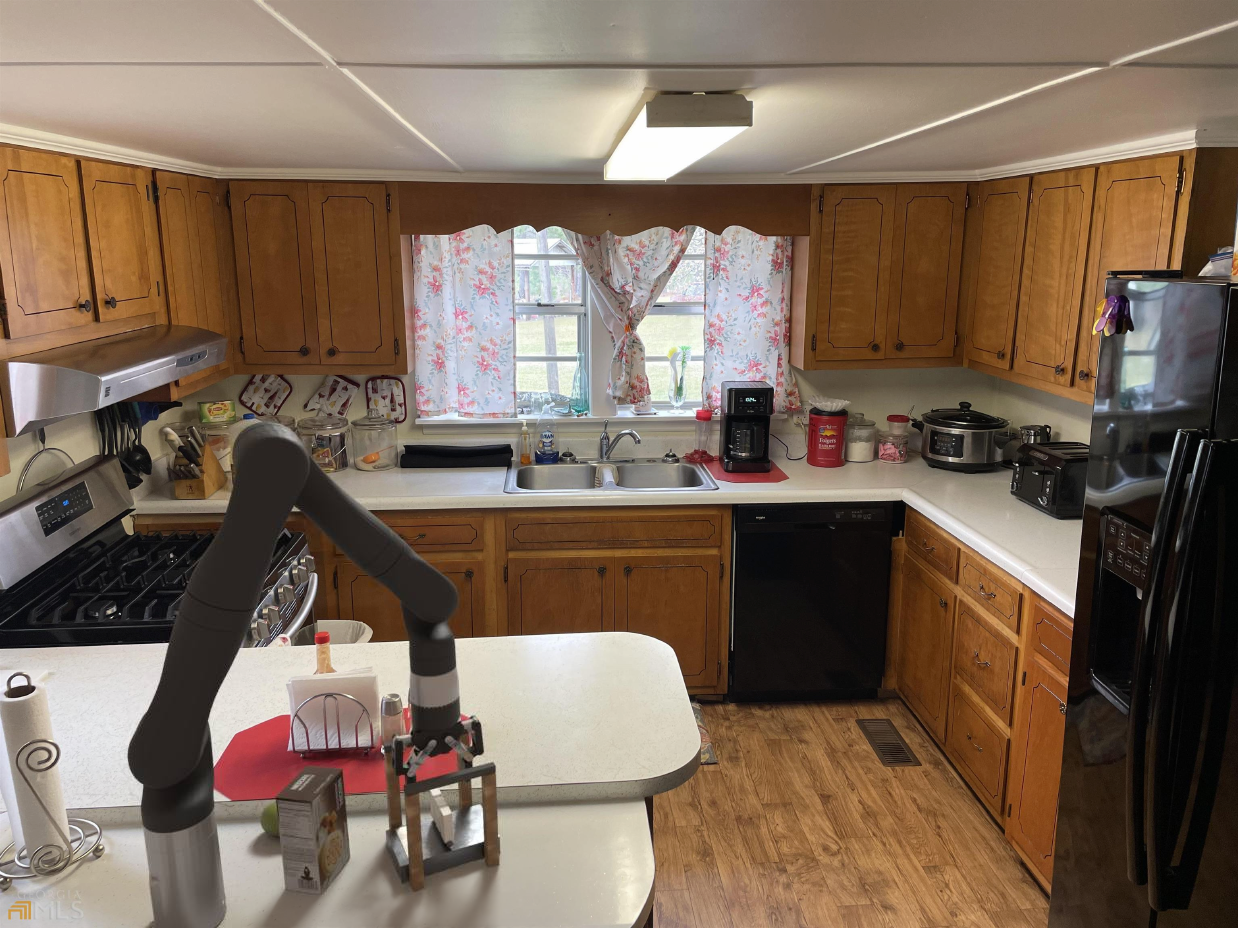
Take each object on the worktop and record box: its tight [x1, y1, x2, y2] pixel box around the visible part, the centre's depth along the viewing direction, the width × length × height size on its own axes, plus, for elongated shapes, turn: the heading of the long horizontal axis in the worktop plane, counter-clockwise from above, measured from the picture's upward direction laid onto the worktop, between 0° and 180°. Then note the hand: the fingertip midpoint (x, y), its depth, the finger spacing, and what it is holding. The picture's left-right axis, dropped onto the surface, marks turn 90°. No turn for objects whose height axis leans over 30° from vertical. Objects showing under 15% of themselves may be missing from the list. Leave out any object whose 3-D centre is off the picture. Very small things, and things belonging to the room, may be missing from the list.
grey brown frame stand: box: [383, 733, 500, 893], centre depth 144 cm, size 14×15×16 cm
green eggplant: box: [259, 800, 280, 836], centre depth 150 cm, size 6×5×10 cm
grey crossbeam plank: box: [403, 761, 497, 796], centre depth 136 cm, size 14×1×1 cm, turn 117°
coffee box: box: [275, 765, 351, 895], centre depth 139 cm, size 9×6×16 cm
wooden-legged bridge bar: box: [382, 729, 470, 753], centre depth 148 cm, size 14×1×1 cm, turn 117°
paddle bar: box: [429, 788, 454, 848], centre depth 145 cm, size 1×9×6 cm, turn 27°
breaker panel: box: [385, 803, 501, 884], centre depth 146 cm, size 16×10×3 cm, turn 117°
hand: (440, 786), depth 143 cm, fingers open, 8 cm apart
